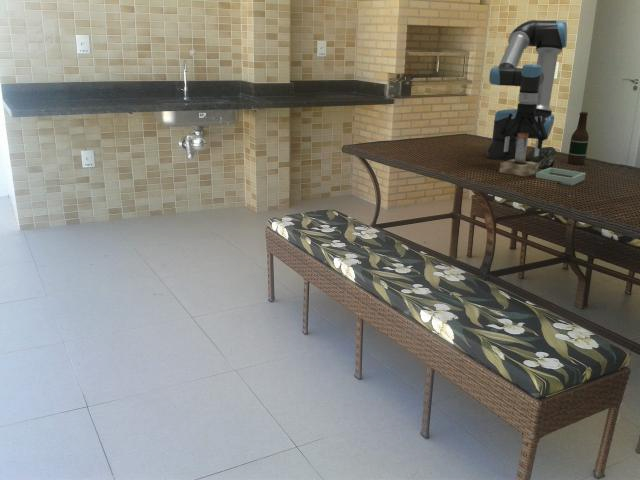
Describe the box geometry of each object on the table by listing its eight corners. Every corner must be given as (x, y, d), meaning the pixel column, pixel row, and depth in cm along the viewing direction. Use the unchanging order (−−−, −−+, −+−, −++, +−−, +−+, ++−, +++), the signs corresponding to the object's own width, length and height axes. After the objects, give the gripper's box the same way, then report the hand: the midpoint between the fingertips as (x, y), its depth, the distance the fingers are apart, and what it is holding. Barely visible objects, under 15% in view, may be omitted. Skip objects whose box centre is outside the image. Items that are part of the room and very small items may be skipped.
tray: (535, 179, 254) (536, 172, 253) (549, 174, 265) (550, 167, 264) (571, 185, 245) (572, 178, 244) (584, 180, 255) (585, 173, 254)
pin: (511, 172, 263) (515, 133, 257) (515, 170, 266) (520, 132, 260) (521, 173, 260) (525, 134, 254) (525, 172, 263) (530, 133, 258)
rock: (560, 162, 276) (555, 143, 272) (560, 172, 269) (554, 152, 265) (533, 169, 282) (527, 150, 278) (532, 179, 275) (526, 159, 271)
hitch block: (499, 174, 262) (500, 162, 261) (511, 170, 271) (512, 159, 269) (525, 178, 255) (527, 167, 253) (537, 174, 264) (538, 163, 262)
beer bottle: (586, 165, 285) (594, 113, 277) (568, 164, 286) (576, 112, 278) (582, 162, 292) (591, 111, 284) (565, 161, 293) (573, 110, 286)
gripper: (495, 101, 258) (489, 150, 265) (553, 106, 243) (546, 159, 250) (503, 100, 264) (497, 148, 271) (560, 105, 248) (553, 156, 255)
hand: (520, 153), depth 260 cm, fingers open, 13 cm apart
